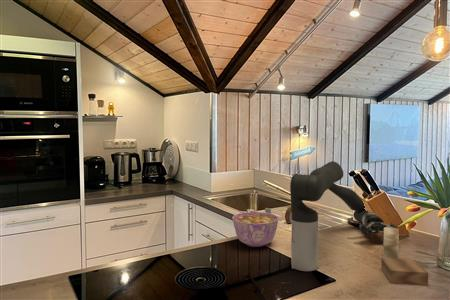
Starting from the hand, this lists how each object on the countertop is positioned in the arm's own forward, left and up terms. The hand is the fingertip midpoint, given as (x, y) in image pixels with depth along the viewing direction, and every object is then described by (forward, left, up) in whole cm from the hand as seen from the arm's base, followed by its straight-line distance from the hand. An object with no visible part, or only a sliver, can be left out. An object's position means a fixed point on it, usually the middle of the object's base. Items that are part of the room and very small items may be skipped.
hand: (382, 233), depth 140 cm
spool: (0, -11, -7) cm, 13 cm away
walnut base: (0, -25, -7) cm, 26 cm away
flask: (-47, +24, -7) cm, 53 cm away
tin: (-34, +39, -7) cm, 52 cm away
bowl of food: (-51, +1, -7) cm, 52 cm away
